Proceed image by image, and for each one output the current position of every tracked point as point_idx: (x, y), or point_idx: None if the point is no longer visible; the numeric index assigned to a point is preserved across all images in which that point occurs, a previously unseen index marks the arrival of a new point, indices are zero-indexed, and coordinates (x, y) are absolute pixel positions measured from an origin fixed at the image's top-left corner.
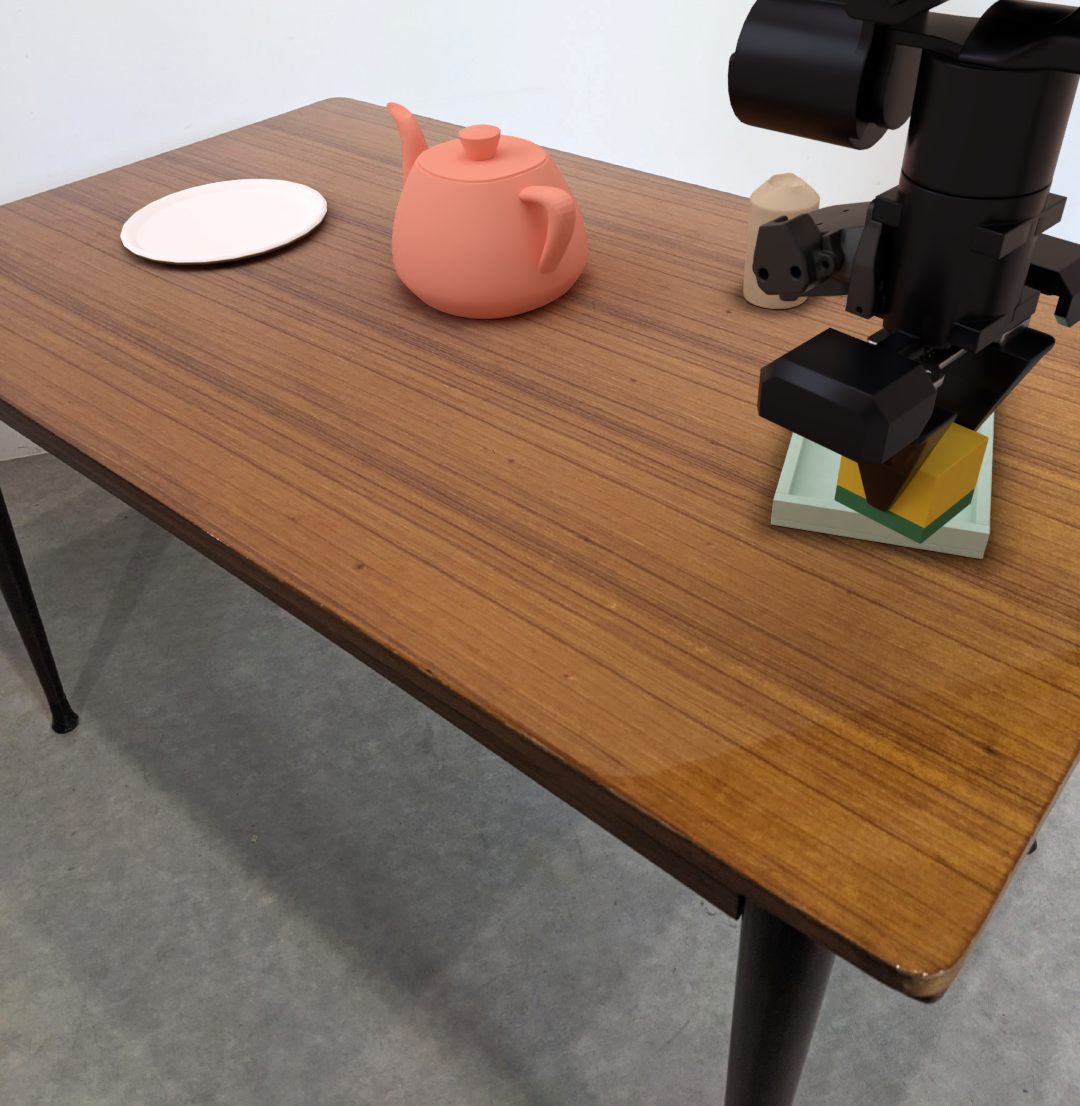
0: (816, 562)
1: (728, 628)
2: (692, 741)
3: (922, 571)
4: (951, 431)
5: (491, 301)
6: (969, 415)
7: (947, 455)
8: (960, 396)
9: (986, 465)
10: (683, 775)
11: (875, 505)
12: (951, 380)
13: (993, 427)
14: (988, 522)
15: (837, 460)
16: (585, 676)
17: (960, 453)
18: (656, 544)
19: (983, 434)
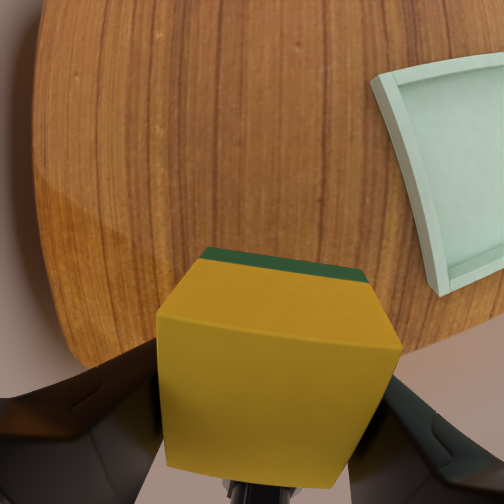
0: (343, 151)
1: (197, 131)
2: (83, 190)
3: (388, 246)
4: (319, 458)
5: None
6: (357, 481)
7: (235, 470)
8: (376, 490)
9: None
10: (61, 204)
11: None
12: (398, 495)
13: None
14: (454, 290)
15: (489, 107)
16: (83, 83)
17: (256, 479)
18: (261, 6)
19: None
